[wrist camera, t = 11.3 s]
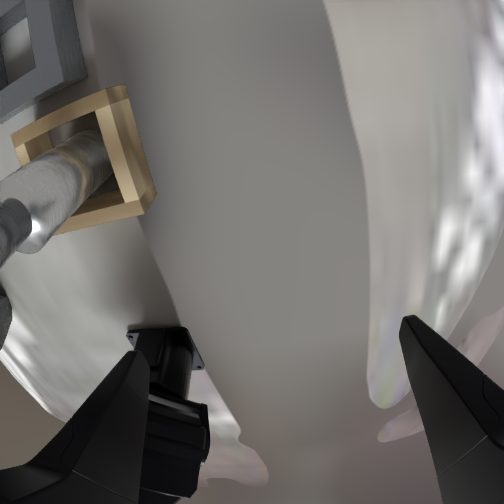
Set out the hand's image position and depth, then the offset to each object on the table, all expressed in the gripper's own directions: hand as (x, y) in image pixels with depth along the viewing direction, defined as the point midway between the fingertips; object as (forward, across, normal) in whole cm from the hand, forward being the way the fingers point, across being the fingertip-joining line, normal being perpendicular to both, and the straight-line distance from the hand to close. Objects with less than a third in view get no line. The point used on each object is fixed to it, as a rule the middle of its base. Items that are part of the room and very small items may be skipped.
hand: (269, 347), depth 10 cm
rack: (+13, +11, -5) cm, 18 cm away
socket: (+13, +14, -15) cm, 24 cm away
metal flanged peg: (+13, +11, -5) cm, 18 cm away
